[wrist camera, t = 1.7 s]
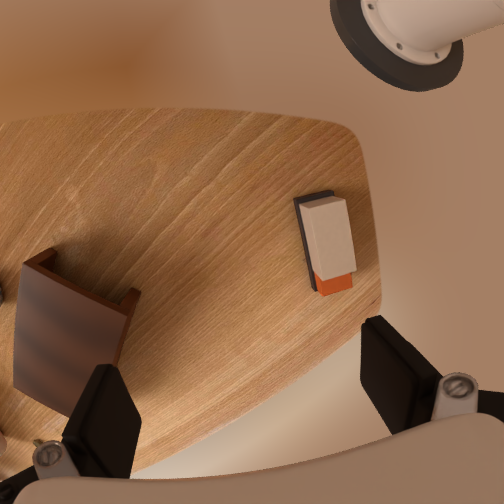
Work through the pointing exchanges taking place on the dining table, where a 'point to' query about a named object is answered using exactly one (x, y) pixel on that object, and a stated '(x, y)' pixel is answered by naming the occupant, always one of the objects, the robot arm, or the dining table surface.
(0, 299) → the decorative stone
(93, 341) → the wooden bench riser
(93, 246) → the dining table surface
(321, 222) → the tricolour layered block
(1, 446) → the coffee cup
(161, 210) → the dining table surface
